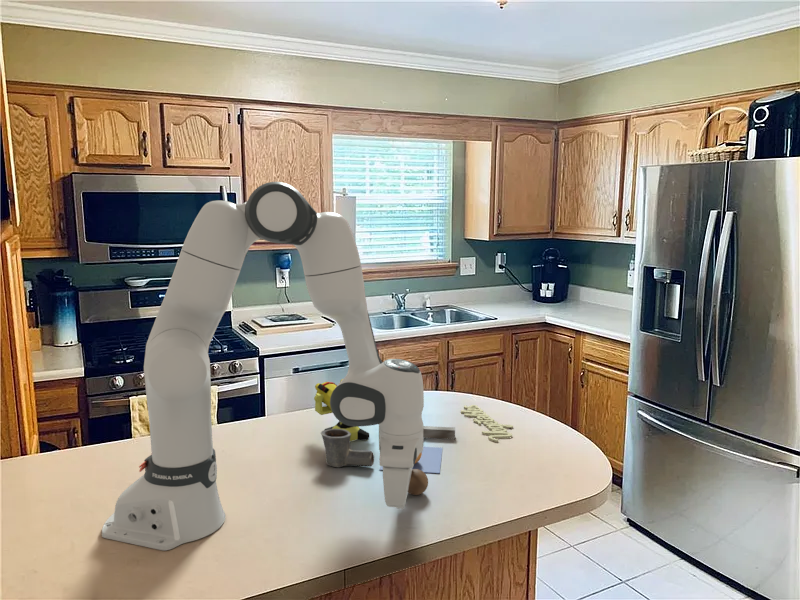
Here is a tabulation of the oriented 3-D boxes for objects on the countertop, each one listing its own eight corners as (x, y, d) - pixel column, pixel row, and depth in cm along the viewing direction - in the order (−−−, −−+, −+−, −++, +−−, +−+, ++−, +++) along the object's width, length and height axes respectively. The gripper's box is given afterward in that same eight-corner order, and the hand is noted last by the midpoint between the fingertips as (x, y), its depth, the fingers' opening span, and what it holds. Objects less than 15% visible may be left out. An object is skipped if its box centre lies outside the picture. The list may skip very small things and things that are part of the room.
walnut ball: (410, 465, 134) (398, 487, 132) (411, 462, 129) (398, 485, 127) (432, 478, 133) (420, 501, 131) (433, 475, 128) (420, 499, 126)
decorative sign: (527, 436, 160) (492, 441, 157) (526, 440, 160) (492, 444, 157) (484, 403, 185) (453, 406, 182) (484, 406, 185) (453, 409, 182)
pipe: (369, 473, 140) (369, 441, 138) (317, 468, 143) (316, 436, 141) (376, 462, 146) (376, 431, 144) (325, 457, 148) (325, 426, 147)
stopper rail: (379, 435, 161) (379, 426, 161) (380, 432, 163) (380, 423, 163) (454, 439, 159) (455, 430, 159) (455, 436, 161) (455, 427, 161)
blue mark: (379, 470, 141) (379, 469, 141) (387, 445, 155) (387, 444, 155) (439, 473, 140) (439, 472, 140) (442, 448, 154) (442, 447, 154)
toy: (358, 419, 173) (357, 368, 170) (382, 436, 161) (382, 382, 158) (302, 431, 164) (301, 378, 161) (324, 450, 152) (323, 393, 150)
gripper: (391, 420, 131) (391, 480, 133) (377, 462, 111) (378, 531, 113) (421, 421, 130) (420, 481, 133) (412, 463, 110) (411, 533, 113)
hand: (400, 505), depth 123 cm, fingers closed
